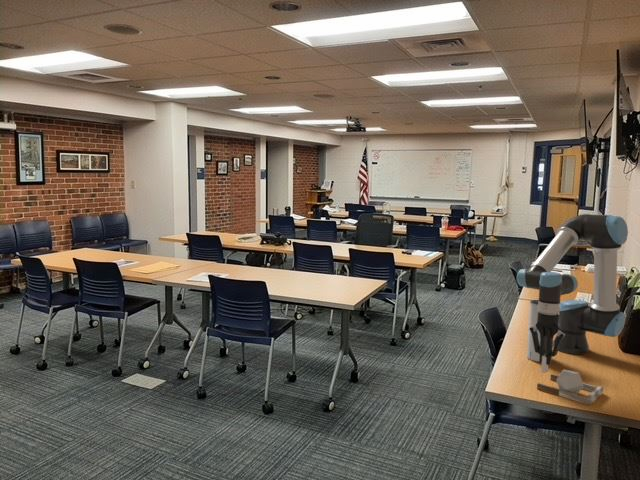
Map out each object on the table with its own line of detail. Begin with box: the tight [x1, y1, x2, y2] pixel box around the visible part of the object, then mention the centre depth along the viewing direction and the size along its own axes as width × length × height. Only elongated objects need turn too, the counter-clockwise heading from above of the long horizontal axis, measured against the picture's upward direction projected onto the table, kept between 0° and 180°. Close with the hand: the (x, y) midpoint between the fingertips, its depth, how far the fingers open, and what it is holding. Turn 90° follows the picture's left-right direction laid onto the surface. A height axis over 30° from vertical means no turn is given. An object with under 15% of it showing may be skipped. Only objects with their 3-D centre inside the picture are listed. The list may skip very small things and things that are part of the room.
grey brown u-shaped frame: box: [536, 373, 604, 406], centre depth 184 cm, size 14×18×3 cm
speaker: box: [526, 299, 553, 363], centre depth 217 cm, size 11×10×26 cm
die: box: [556, 369, 584, 395], centre depth 182 cm, size 8×9×10 cm
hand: (544, 371), depth 190 cm, fingers closed
